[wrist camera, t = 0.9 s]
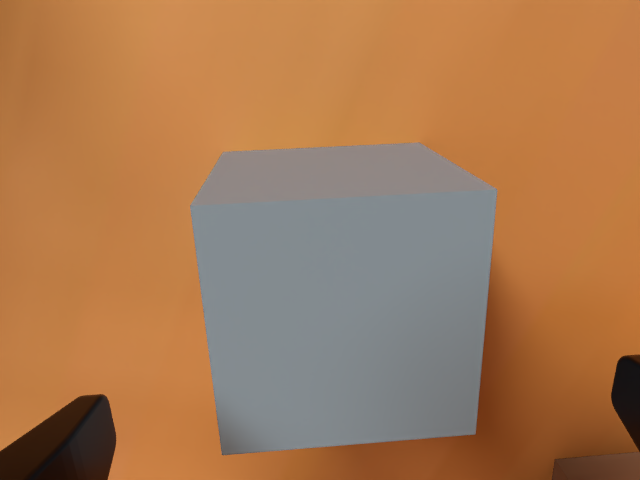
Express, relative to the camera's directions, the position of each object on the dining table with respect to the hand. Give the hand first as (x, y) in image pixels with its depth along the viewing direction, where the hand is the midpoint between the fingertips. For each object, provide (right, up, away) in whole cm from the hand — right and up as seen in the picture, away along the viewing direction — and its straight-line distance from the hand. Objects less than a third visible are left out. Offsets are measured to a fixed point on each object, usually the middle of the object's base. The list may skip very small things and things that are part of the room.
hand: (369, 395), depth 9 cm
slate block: (-1, +3, +8) cm, 8 cm away
